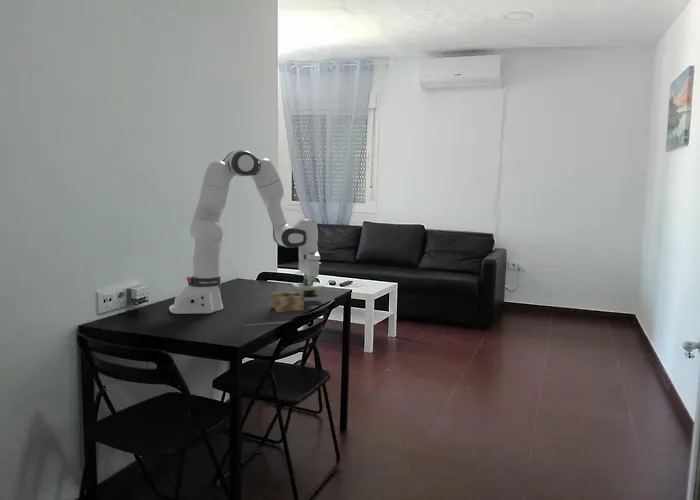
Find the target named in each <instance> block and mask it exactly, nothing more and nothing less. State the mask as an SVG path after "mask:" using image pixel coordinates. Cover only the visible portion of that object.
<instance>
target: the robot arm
mask: <svg viewBox="0 0 700 500" xmlns="http://www.w3.org/2000/svg"><path fill="white" fill-rule="evenodd" d="M235 176H237V177H249V176H250V178H251V179H252V180H253V182H254V185H255V187H256V190H257V192H258V194H259V197H260V198H261V200H262V201H263V204H264V205H265V207H266V210H267V213H268V215H269V218H270V221H271V224H272V238H273V240H274V243H276V244H277V245H278V246H281V247H284V248H289V249H293V248H298V271H299V272H301V273H303V279H307V284H308V285H311V281H312V277H313V278H318V276H319V272H320V271H319V270H320V260H321V255H320V253H319V246H318V240H319V229H318V228H319V227H318V224H317V222H316V221H315V220H313V219H308V218H300V220H298V221H297V222H296V223H295V222H294V224H291V225H290V224H289V223H288V222H287V221H286V217H285V215H284V212H283V210H282V207H281V202H282V199H283V197H284V195H285V191H284V185H283V183H282V180H281V177H280V175H279V172H278V171H277V168H275V165H274V164H273V162H272V161H271V160H270V159H269V158H264V157H263V158H258V157H257V156H256V155H254V153H253V152H250V151H248V150H242V149H238V150H234V151H231V152H230V153H228V154H227V155H226V156H225V158H224V159H222V160H213V161H211V162H210V163H209V164H208V166H207V168H206V171H205V174H204V176H203V179H202V184H201V188H200V192H199V193H200V195H199V199H198V203H197V206H196V209H195V212H194V215H193V217H192V220H191V224H190V228H189V232H190V235H191V236H190V237H192V238H193V240H194V250H193V256H192V276H186V278H185V279H186V281H187V286H185V287H184V288H183V289H181V291H179V292H178V293H177V294H176V296H175V299H174V303H173V304H171V305H170V306H169V307H168V309H169V312H170V313H172V314H173V315H174V314H176V315H177V314H178V315H181V314H184V315H188V314H212V313H214V312H218V311H221V310H223V309H224V305H223V301H222V295H221V287H222V286H221V285H222V282H221V281H222V279H221V275H220V257H221V256H220V254H221V249H222V241H223V240H222V239H223V235H224V232H223V228H222V227H221V225H220V224H219V222H220V220H221V217H222V215H223V211H224V210H225V208H226V203H227V199H228V198H227V197H228V194H229V189H230V183H231V181H232V179H233V177H235Z"/></svg>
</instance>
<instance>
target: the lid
mask: <svg viewBox="0 0 700 500" xmlns="http://www.w3.org/2000/svg"><path fill="white" fill-rule="evenodd" d="M291 285H292V286H293V287H294V288H295V289H297V290H298V292H299V291H300V292H303V291H307V290H316V291H319V290H321V288H322V289H323V288H325V285H324V284H323V283H320V282H319V281H317V282H313V279H312V281H311V285H308V284H307V279H304V278H303V282H295V283H294V282H293V283H292V284H291Z"/></svg>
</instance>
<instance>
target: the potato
mask: <svg viewBox="0 0 700 500" xmlns="http://www.w3.org/2000/svg"><path fill="white" fill-rule="evenodd" d="M312 279H313V282H318V279H317V278H316V277H312ZM316 291H317V290H307V291H302V293H303V295H304V296H306V297H307V296H308V297H312V296H313V295H315V292H316Z"/></svg>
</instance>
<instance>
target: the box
mask: <svg viewBox="0 0 700 500" xmlns="http://www.w3.org/2000/svg"><path fill="white" fill-rule="evenodd" d="M271 308H272V309H273V310H274V311H275V312H276V313H281V312H283V313H284V312H296V311H299V312H300V311H305V294H302V293H301V292H299V291H293V292H292V291H291V292H289V291H288V292H286V291H285V292H272V293H271Z"/></svg>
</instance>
